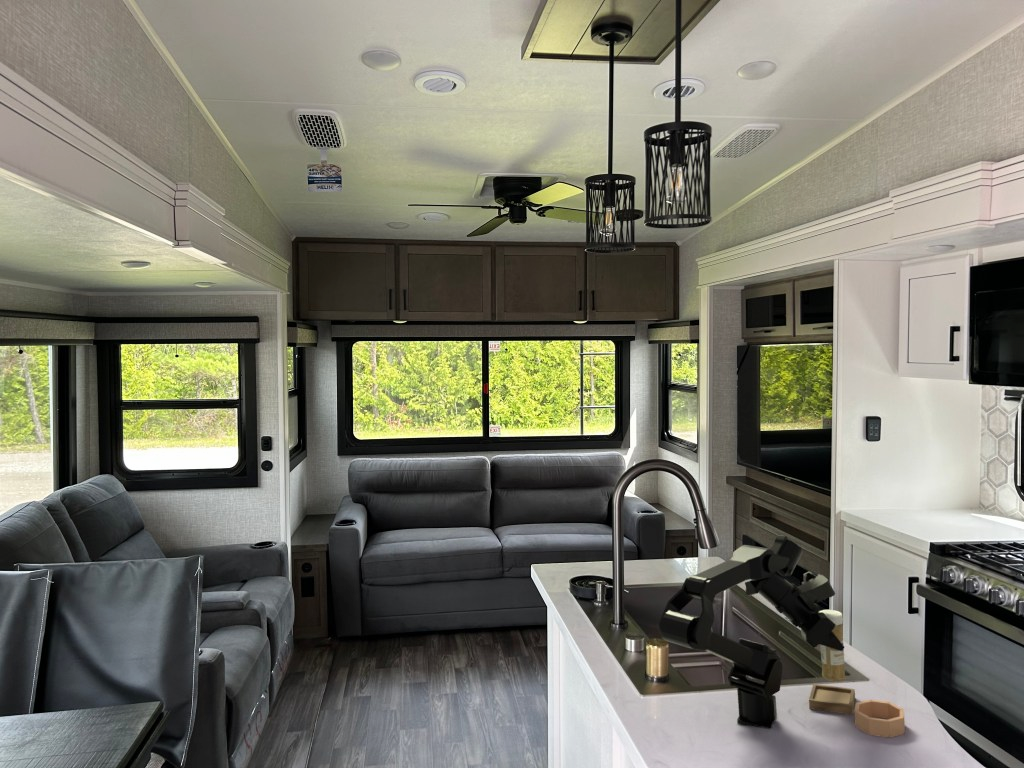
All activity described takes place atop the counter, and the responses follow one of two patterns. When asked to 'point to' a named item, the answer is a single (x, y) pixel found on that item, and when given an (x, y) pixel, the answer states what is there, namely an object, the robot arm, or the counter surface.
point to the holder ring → (876, 725)
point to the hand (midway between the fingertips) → (838, 644)
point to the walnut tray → (832, 699)
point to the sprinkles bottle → (833, 651)
